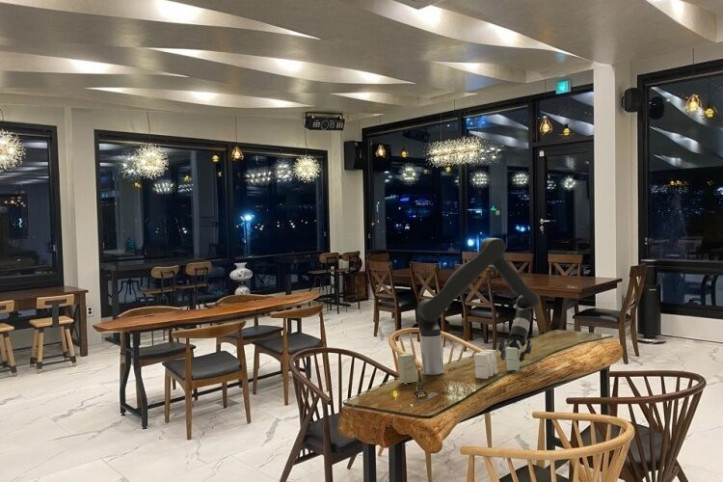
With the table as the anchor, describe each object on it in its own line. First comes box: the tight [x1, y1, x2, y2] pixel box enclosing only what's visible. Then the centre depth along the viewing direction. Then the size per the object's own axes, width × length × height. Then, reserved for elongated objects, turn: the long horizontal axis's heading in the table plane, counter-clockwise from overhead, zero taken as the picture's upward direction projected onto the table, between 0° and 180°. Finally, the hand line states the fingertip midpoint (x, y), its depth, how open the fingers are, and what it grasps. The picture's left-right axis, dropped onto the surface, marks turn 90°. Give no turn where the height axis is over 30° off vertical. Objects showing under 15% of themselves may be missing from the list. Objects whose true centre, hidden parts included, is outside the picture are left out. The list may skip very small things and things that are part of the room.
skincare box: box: [397, 352, 418, 385], centre depth 242 cm, size 6×4×12 cm
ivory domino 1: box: [473, 353, 490, 379], centre depth 241 cm, size 2×5×10 cm, turn 52°
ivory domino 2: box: [478, 351, 494, 377], centre depth 245 cm, size 2×5×10 cm, turn 52°
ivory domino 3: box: [483, 349, 498, 375], centre depth 248 cm, size 2×5×10 cm, turn 52°
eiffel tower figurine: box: [413, 362, 439, 403], centre depth 220 cm, size 15×10×13 cm
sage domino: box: [505, 346, 520, 372], centre depth 250 cm, size 2×5×10 cm, turn 52°
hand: (511, 360), depth 249 cm, fingers open, 8 cm apart
